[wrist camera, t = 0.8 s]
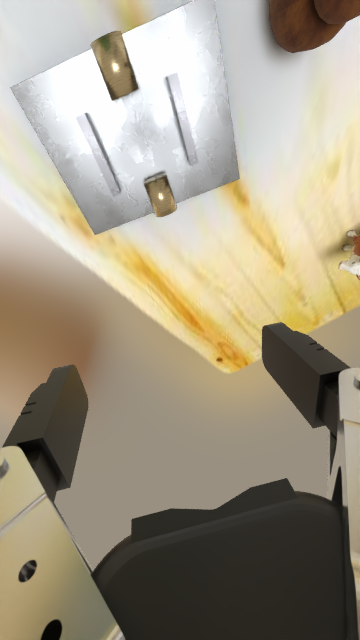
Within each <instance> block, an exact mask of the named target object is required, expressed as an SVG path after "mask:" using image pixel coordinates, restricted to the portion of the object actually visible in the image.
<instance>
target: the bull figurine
mask: <svg viewBox="0 0 360 640" xmlns="http://www.w3.org/2000/svg"><path fill="white" fill-rule="evenodd" d="M346 236H348V237H353V240H354V241H355V246H354V247H353V246H352V245H345V246H344V247H343V248H342V250H343V251H346V250H351V252H350V255H349V260H347V261H341V262H340V263H339V266H338V268H339V269H340V270H343V269H344V270H347V271H348V272H350V273H351V274H356V275H357V277H358V279H359V280H360V236H358V235H357V234H356V233H355V230H353V231H348V232H347V233H346Z"/></svg>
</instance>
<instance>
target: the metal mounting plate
mask: <svg viewBox="0 0 360 640" xmlns="http://www.w3.org/2000/svg"><path fill="white" fill-rule="evenodd" d="M90 46H91V48H92V49H90V50H88V51H86V52H84V53H82V54H80V55H78V56H76V57H74V58H71V59H69V60H67V61H65V62H63V63H61V64H59V65H57V66H55V67H52V68H50V69H48V70H46V71H44V72H42V73H40V74H38V75H36V76H34V77H31V78H29V79H27V80H25V81H23V82H21V83H19V84H17V85H15V86H12V87H10V88H11V90H12V92H13V93H14V95H15V97H16V98H17V100H18V102H19V104H20V105H21V107H22V109H23V111H24V112H25V114H26V116H27V118H28V119H29V121H30V123H31V125H32V126H33V128H34V130H35V131H36V133H37V135H38V137H39V138H40V140H41V142H42V144H43V145H44V147H45V149H46V151H47V152H48V154H49V156H50V158H51V159H52V161H53V163H54V164H55V166H56V168H57V170H58V171H59V173H60V175H61V177H62V178H63V180H64V182H65V184H66V185H67V187H68V189H69V191H70V192H71V194H72V196H73V197H74V199H75V201H76V203H77V204H78V206H79V208H80V210H81V211H82V213H83V215H84V217H85V218H86V220H87V222H88V223H89V225H90V227H91V229H92V230H93V232H94V234H95V235H96V234H99V233H102V232H104V231H107V230H109V229H112V228H114V227H117V226H120V225H122V224H125V223H127V222H130V221H132V220H135V219H138V218H140V217H143V216H145V215H148V214H150V213H153V212H154V213H155V215H156V216H157V217H163V216H166V215H169V214H171V213H173V212H174V211H175V210H176V209H177V206H176V203H179V202H181V201H184V200H186V199H189V198H191V197H194V196H197V195H199V194H202V193H204V192H207V191H209V190H212V189H214V188H217V187H220V186H222V185H225V184H227V183H230V182H232V181H235V180H238V179H240V177H239V170H238V163H237V156H236V149H235V142H234V135H233V128H232V121H231V114H230V107H229V100H228V93H227V86H226V79H225V72H224V65H223V58H222V51H221V44H220V37H219V30H218V23H217V16H216V9H215V2H214V0H194V1H192V2H190V3H187V4H185V5H183V6H181V7H179V8H177V9H175V10H173V11H171V12H169V13H166V14H164V15H162V16H160V17H158V18H156V19H154V20H152V21H150V22H147V23H145V24H143V25H141V26H139V27H137V28H135V29H133V30H131V31H128V32H126V33H124V34H122V33H121V31H114V32H111V33H108V34H106V35H104V36H102V37H100V38H98V39H97V40H95V41H94V42H93V43H92V44H91V45H90Z"/></svg>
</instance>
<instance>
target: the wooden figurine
mask: <svg viewBox="0 0 360 640" xmlns="http://www.w3.org/2000/svg"><path fill="white" fill-rule="evenodd" d="M359 15H360V0H270V22H271V27H272V31H273V33H274V35H275V38H276V40H277V43H278V44H279V45H280V46H281V47H282V48H284V49H285V50H287V51H288V52H291V53H295V52H300V51H306V50H311V49H314V48H317V47H319V46H321V45H323V44H325V43H327V42H329V41H330V40H331V39H332V38H333V37H334V36H335V35H336V34H337V33H338V32H339V31H340V29H341V28H342V27H343V26H344V25H345V23H346V22H347V21H349V20H351V19H353V18H355V17H357V16H359Z"/></svg>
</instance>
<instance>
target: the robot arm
mask: <svg viewBox="0 0 360 640" xmlns="http://www.w3.org/2000/svg"><path fill="white" fill-rule="evenodd" d="M262 360H263V363H264V366H265V368H266V370H267V371H268V372H269V373H270V375H271V376H272V377H273V379H274V380H275V381H276V382H277V384H278V385H279V386H280V387H281V389H282V390H283V391H284V392H285V394H286V395H287V396H288V397H289V399H290V400H291V401H292V402H293V404H294V405H295V406H296V408H297V409H298V410H299V411H300V413H301V414H302V415H303V416H304V418H305V419H306V420H307V421H308V423H309V424H310V425H311V426H312V428H317V427H321V426H325V425H326V426H327V428H328V429H329V430H330V431H329V436H328V486H327V497H326V498H324V497H322V496H318V495H315V494H311V493H306V492H299V491H294V490H293V488H292V486H291V485H290V483H289V481H288V479H287V478H285V479H282V480H278V481H274V482H270V483H266V484H263V485H259V486H255V487H251V488H249V489H248V490H246V491H244V492H243V493H241V494H240V495H238V496H236V497H235V498H233V499H231V500H230V501H229V502H227V503H225V504H224V505H222V506H220V507H218V508H217V509H214V510H201V509H200V510H199V509H168V510H164V511H161V512H157V513H153V514H149V515H146V516H142V517H138V518H134V519H132V528H131V529H132V532H131V535H130V536H128V537H126V538H125V539H124V540H123V541H121V542H120V543H118V544H117V545H116V546H115V547H114V548H113V549H112V550H111V551H110V552H109V553H108V554H107V555H106V556H105V557H104V558H103V559H102V561H101V562H100V563H99V564H98V565H97V567H96V568H95V569H94V571H93V569H92V567H91V566H90V564H89V562H88V561H87V559H86V557H85V556H84V554H83V552H82V550H81V549H80V547H79V545H78V543H77V542H76V540H75V538H74V537H73V535H72V533H71V531H70V529H69V528H68V526H67V524H66V522H65V521H64V519H63V517H62V515H61V514H60V512H59V510H58V508H57V507H56V505H55V503H54V499H55V495H56V492H57V491H58V490H62V489H66V488H70V486H71V482H72V477H73V472H74V468H75V463H76V459H77V454H78V451H79V446H80V442H81V437H82V433H83V428H84V424H85V419H86V415H87V411H88V398H87V394H86V391H85V389H84V386H83V383H82V381H81V378H80V376H79V373H78V371H77V368H76V367H75V365H68V366H64V367H59V368H54V369H53V370H52V372H51V374H50V376H49V378H48V380H47V382H46V383H43V384H41V385H40V386H39V387H38V388H37V389H36V390H35V391H34V392H32V393H31V395H30V397H29V399H28V401H27V402H26V404H25V405H26V406H25V407H24V408H23V410H22V412H21V415H20V416H19V417H18V419H17V421H16V423H15V425H14V426H13V428H12V430H11V432H10V434H9V436H8V438H7V439H6V441H5V443H4V445H3V447H2V448H1V449H0V640H360V368H350V367H349V366H347V365H346V364H345V363H344V362H342V361H341V360H340V359H338V358H337V357H335V356H334V355H333V354H332V353H330V352H329V351H328V350H327V349H324V347H322V346H321V345H320V344H317V342H316V341H314V340H313V339H312V338H311V337H309V336H308V335H306V334H303V333H300V332H298V331H292V330H291V329H290V328H289V327H287V326H286V325H285V324H284V323H282V322H280V323H275V324H270V325H265V326H263V329H262Z"/></svg>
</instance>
